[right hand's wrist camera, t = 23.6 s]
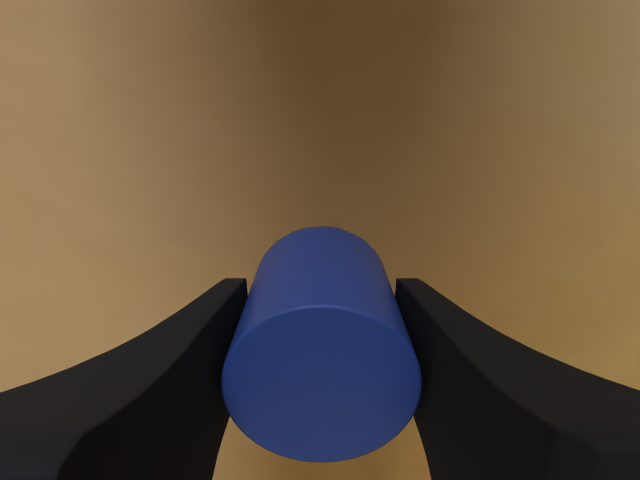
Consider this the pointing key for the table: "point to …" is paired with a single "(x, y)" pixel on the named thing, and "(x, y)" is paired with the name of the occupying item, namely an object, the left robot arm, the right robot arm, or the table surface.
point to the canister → (321, 351)
